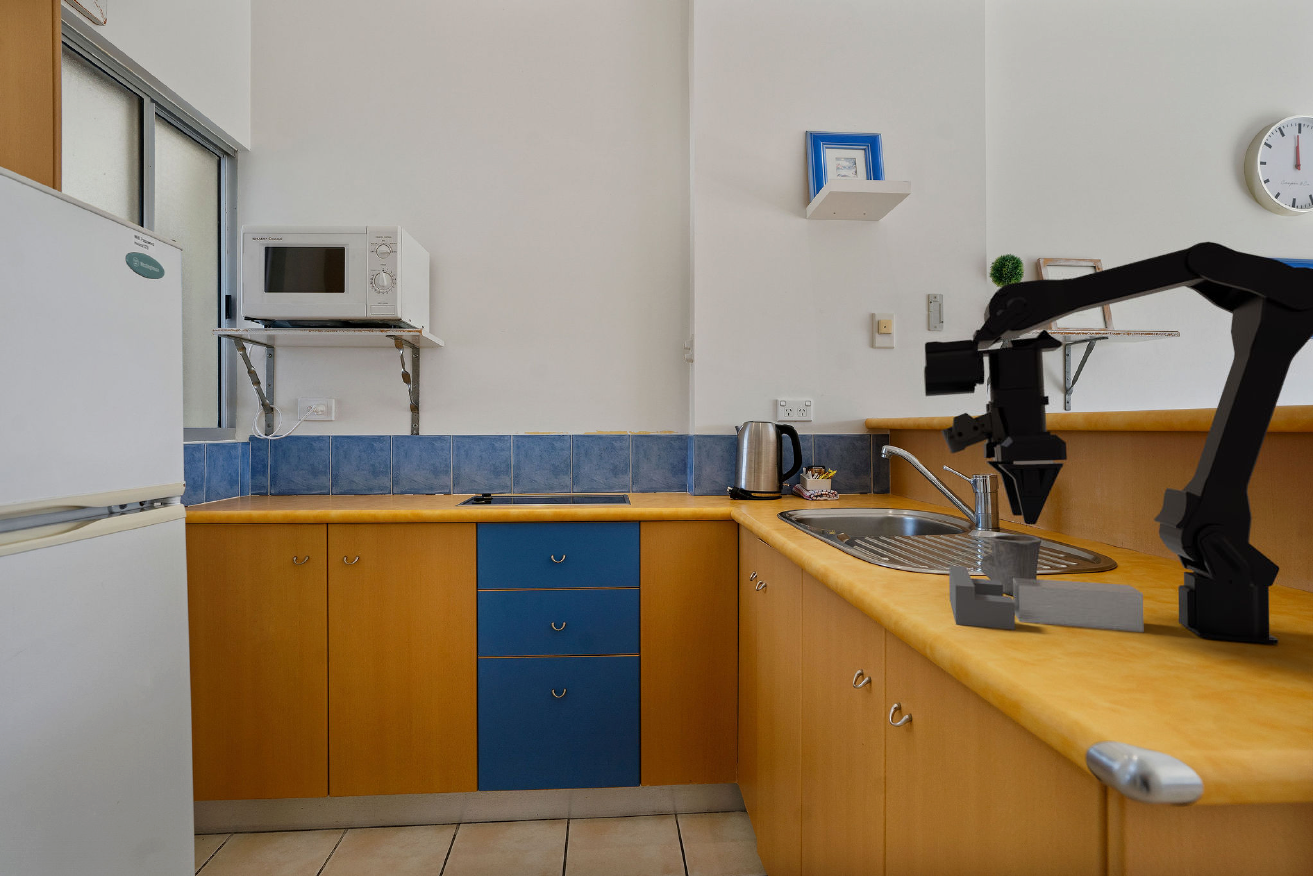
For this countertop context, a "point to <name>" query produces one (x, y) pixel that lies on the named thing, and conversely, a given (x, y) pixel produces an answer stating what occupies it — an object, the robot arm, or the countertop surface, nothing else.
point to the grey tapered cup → (1011, 559)
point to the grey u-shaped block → (979, 601)
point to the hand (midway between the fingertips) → (1023, 519)
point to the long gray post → (1078, 604)
